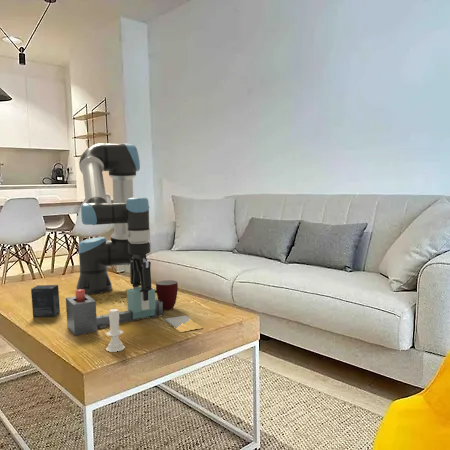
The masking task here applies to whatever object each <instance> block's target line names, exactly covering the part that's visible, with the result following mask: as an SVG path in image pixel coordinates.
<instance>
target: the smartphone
mask: <svg viewBox="0 0 450 450" xmlns="http://www.w3.org/2000/svg"><path fill="white" fill-rule="evenodd" d="M189 319H192V318H191V317H189V316H188V315H186V314H184V315H179V316H173V317H166V318H164V322H165V321H166V323H167V322H168V323H169V324H171V325H172V326H173V327H175V328H177V327H178V326H179V325H181V324H182V323H183V324H185V323H186V322H187V321H189ZM168 323H167V324H168ZM169 324H168V325H169ZM172 326H171V327H172ZM173 327H172V328H173Z"/></svg>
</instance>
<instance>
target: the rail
mask: <svg viewBox="0 0 450 450" xmlns="http://www.w3.org/2000/svg"><path fill="white" fill-rule="evenodd" d="M155 307H156V309H155V315H153V316H148V317H150V318H149V319H151V318H152V319H156V318H157V317H161V315H163V316H164V310H163V302H162V301H160V300H158V299H155ZM96 317H97V328H99V329H100V330H102V329H106V328H107V326H110V320H109V313H108V314H103V315H96ZM155 317H156V318H155ZM143 318H144V319H148V318H147V317H143ZM138 319H139V320H143V319H142V318H138ZM138 319H133V315H132V311H128V310H126V311H119V324H123V323H127V322H132V321H137V320H138Z"/></svg>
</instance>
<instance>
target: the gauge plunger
mask: <svg viewBox="0 0 450 450" xmlns="http://www.w3.org/2000/svg"><path fill="white" fill-rule="evenodd" d="M85 295H86V294H85V290H84V289H79V290H77V289H75V296H76V302H77V301H84V300H85Z"/></svg>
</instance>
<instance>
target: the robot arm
mask: <svg viewBox="0 0 450 450" xmlns="http://www.w3.org/2000/svg"><path fill="white" fill-rule="evenodd" d="M78 163H79V164H78V165H79V166H78V167H79V171H80V173H81V174H82V180H83V188H84V189H83V190H84V198H85V203H83V204H81V205H80V213H81V214H80V215H81V217H80V218H81V223H82V224H83V225H85V226H87V225H88V226H89V225H92V226H96V225H97V226H99V225H111V224H112V225H113V233H112V234H111V235H110V239H107V238H106V236H105V237H104V236H100V237H99V236H98V237H92V238H87V239H84V240H82V241H80V242H79V243H78V258H79V259H78V261H79V264H78V265H79V276H78V280H77V285H76V289H75V290H79V289H84V290H85V295H98V294H99V295H100V294H103V293H107V292H110V291H111V290H112V289H113V284H112V281H111V279H110V277H109V274H108V267H112V266H113V267H115V266H126V265H127V266H129V269H130V270H129V271H130V285H132V287H133V288H140V287H141V289H142V290H140V293H141V310H146V309H149V290H151V289H152V288H153V287H152V275H151V271H152V270H151V266H152V265H151V264H152V263H151V261H150V260H149V261H148V259H147V254H149V253H151V243H150V241H151V232H150V231H151V229H150V205H149V204H150V203H149V198H147V197H134V186H133V185H134V181H133V179H134V178H135V177H136V176H137V172H139V171H140V168H141V161H140V156H139V152H138V149H137V146H136V145H135V144H133V143H103V142H102V143H100V142H99V143H95V144H93V145H91V146H89V147H88V148H86V149H85V150H84V151H83V153H82V154H81V156H80V158H79V162H78ZM103 172H108V176H109V177H111V179H112V197H113V198H112V201H113V202H108V200H107V193H106V186H105V182H104V175H103ZM133 288H132V289H133ZM112 291H113V290H112Z"/></svg>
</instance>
